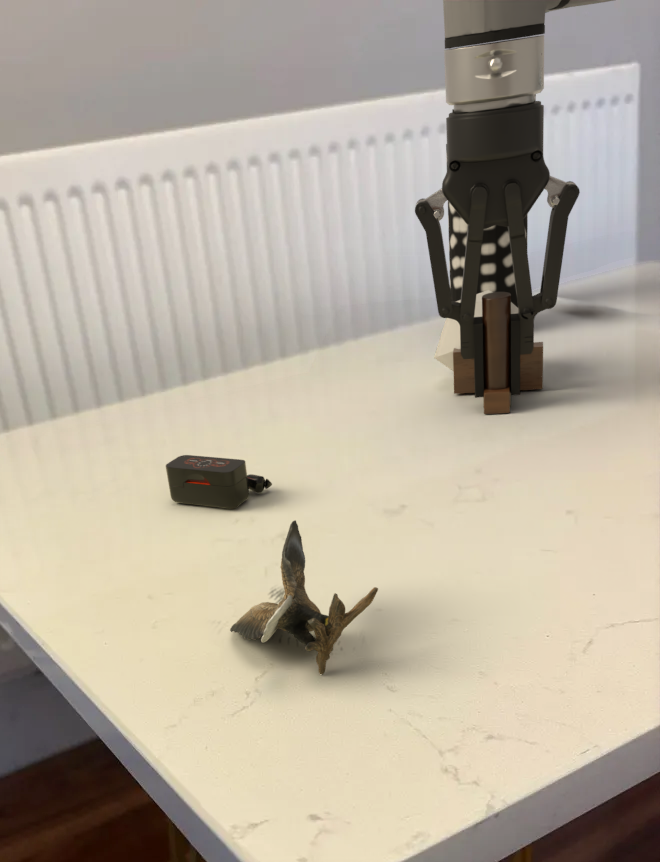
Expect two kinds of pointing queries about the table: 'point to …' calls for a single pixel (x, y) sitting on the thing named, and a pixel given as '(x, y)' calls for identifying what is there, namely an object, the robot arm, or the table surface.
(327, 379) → the table surface
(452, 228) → the spotted tube
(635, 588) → the table surface
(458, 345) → the die
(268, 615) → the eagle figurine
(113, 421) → the table surface
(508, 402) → the wooden block stack
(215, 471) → the wireless earbuds
